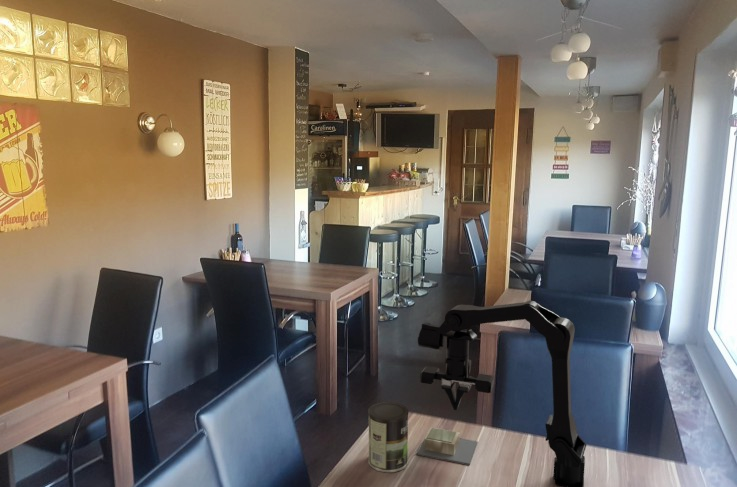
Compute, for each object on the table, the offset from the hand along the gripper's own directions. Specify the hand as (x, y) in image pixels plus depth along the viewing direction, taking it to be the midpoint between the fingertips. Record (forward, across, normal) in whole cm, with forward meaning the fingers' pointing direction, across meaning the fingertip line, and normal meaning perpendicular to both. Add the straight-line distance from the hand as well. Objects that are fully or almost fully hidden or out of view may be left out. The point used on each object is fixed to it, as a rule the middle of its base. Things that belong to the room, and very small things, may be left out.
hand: (455, 409), depth 144 cm
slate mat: (+12, +2, 0) cm, 12 cm away
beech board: (+10, -1, 0) cm, 10 cm away
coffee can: (+12, +15, +12) cm, 22 cm away
